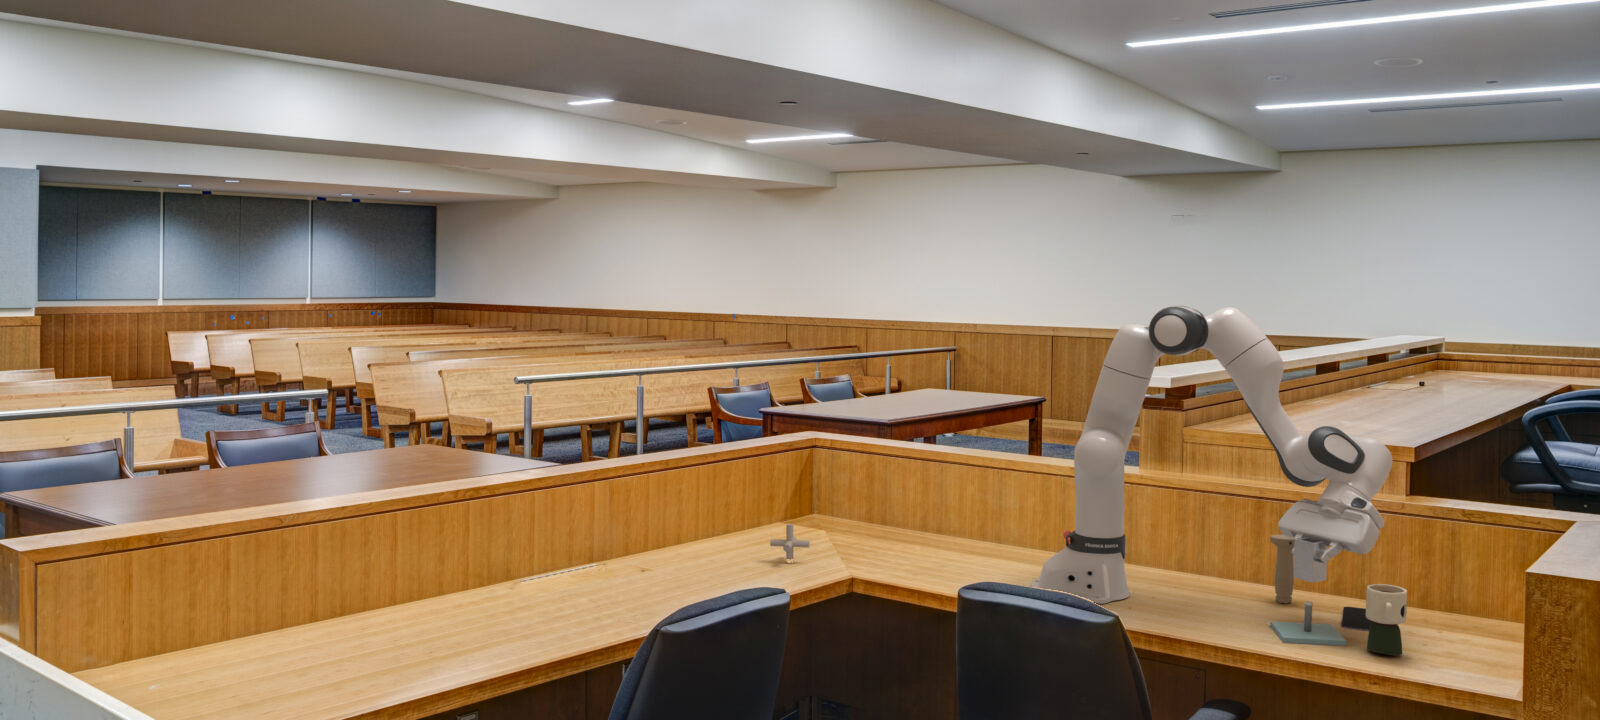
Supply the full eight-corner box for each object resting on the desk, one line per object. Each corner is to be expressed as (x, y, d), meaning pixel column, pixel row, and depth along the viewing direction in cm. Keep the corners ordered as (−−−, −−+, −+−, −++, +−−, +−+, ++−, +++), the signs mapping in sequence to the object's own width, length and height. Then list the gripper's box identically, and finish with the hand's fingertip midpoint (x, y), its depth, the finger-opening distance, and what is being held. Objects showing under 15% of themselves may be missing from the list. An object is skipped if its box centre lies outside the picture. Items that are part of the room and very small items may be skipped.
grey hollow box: (1307, 574, 239) (1308, 537, 238) (1326, 580, 234) (1327, 541, 234) (1293, 577, 237) (1294, 539, 236) (1312, 582, 232) (1313, 543, 232)
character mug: (1408, 664, 219) (1410, 597, 218) (1366, 659, 222) (1369, 593, 221) (1401, 647, 229) (1403, 583, 228) (1361, 642, 232) (1364, 579, 231)
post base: (1283, 642, 232) (1284, 608, 232) (1270, 626, 243) (1271, 593, 242) (1346, 645, 230) (1347, 611, 229) (1331, 629, 241) (1332, 596, 240)
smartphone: (1340, 626, 242) (1343, 605, 255) (1340, 631, 242) (1343, 610, 255) (1379, 631, 239) (1380, 610, 252) (1379, 636, 239) (1379, 615, 252)
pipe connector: (806, 568, 290) (806, 529, 289) (767, 566, 292) (767, 528, 291) (811, 558, 300) (811, 521, 299) (774, 557, 301) (774, 519, 301)
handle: (1302, 604, 259) (1304, 539, 257) (1274, 605, 258) (1276, 539, 257) (1292, 598, 263) (1294, 534, 262) (1264, 599, 263) (1266, 534, 262)
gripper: (1292, 488, 247) (1259, 538, 243) (1379, 505, 229) (1345, 559, 225) (1305, 507, 249) (1273, 556, 245) (1392, 525, 231) (1359, 578, 227)
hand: (1308, 558), depth 235 cm, fingers closed on grey hollow box, 5 cm apart
